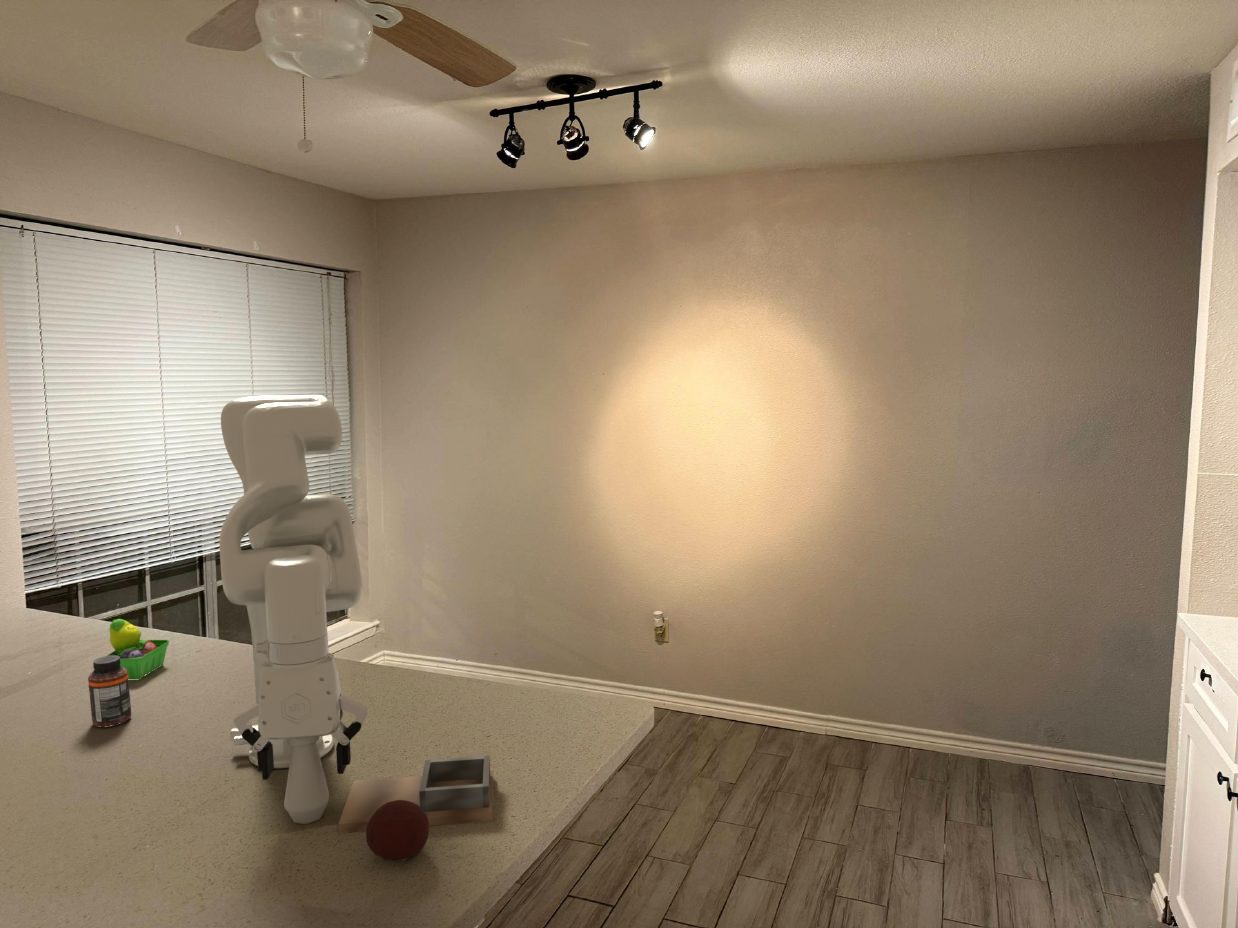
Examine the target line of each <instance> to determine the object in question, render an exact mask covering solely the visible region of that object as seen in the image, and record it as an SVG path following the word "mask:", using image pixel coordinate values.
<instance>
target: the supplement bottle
mask: <svg viewBox="0 0 1238 928" xmlns="http://www.w3.org/2000/svg"><path fill="white" fill-rule="evenodd" d="M120 664H121V662H120V657H119V656H114V655H112V656H107V655H106V656H101V657H98V658H95V659H94V660H93V663H92V665H93V671H92V672H91V673H90V674H89V675H88V677H87V682H88V691H89V692H88V695H89V704H90V715H91V721H92V725H93V726H94V725H95V726H94V727H97V726H101V727H100V728H106V727H105V726H110V725H117V724H119V723H122V722H124V721H126V722H127V720H128V719H129V718H130V717H132V704H131V694H130V693H131V692H130V684H129V682H130V681H129V680H128V672H127V670H126V669H125V668H124V667H121V665H120ZM130 719H131V718H130ZM130 719H129V720H130ZM129 720H128V721H129ZM124 723H125V722H124ZM122 724H123V723H122ZM117 726H118V725H117Z"/></svg>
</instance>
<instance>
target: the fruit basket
mask: <svg viewBox="0 0 1238 928" xmlns="http://www.w3.org/2000/svg"><path fill="white" fill-rule="evenodd" d="M108 631H109V643H110V646H111V647H112V648H113V649H114V651H112V652H110V653H109V654H107V655H106V656H112V655H114V656H119V657H120V662H121V664H120V665H121V667H124V668H125V669H126V670H127V672H128V679H140V678H142V677H143V676H144V675H145V674H148V673H149V672H151V671H152V670H154V669H156V668H157V667H159V666H160V665H162V666H163V665H164V662H165V658H166V653H167V649H168V646H169V643H170V639H141V637H142V631H141V630H140V629H139V628H138V627H137V626H135V625H133V624H132V623H130V622H129V621H127V620H125V619H121V618H117V619H113V620H112V621H111V622H110V625H109V629H108ZM159 668H160V667H159ZM157 669H158V668H157ZM157 669H156V670H157ZM151 673H152V672H151Z"/></svg>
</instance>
